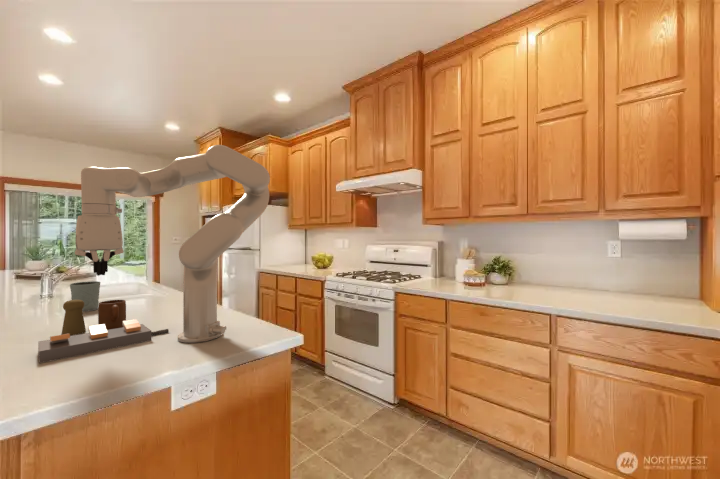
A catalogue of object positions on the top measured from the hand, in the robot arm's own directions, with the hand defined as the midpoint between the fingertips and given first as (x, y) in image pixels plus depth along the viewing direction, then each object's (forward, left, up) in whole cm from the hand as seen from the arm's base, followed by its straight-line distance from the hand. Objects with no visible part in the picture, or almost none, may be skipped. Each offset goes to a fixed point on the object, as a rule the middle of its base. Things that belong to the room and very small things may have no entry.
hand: (100, 274), depth 89 cm
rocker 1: (+6, +6, -17) cm, 19 cm away
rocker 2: (-2, -8, -17) cm, 19 cm away
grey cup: (+56, -36, -21) cm, 70 cm away
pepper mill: (+23, -9, -21) cm, 32 cm away
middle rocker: (+2, -1, -17) cm, 17 cm away
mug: (+14, -15, -21) cm, 29 cm away
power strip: (0, -3, -21) cm, 21 cm away
